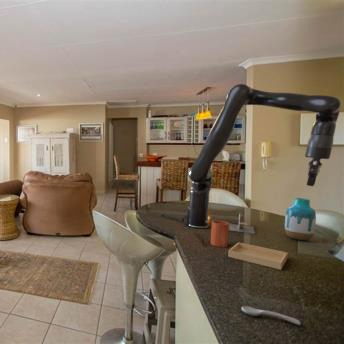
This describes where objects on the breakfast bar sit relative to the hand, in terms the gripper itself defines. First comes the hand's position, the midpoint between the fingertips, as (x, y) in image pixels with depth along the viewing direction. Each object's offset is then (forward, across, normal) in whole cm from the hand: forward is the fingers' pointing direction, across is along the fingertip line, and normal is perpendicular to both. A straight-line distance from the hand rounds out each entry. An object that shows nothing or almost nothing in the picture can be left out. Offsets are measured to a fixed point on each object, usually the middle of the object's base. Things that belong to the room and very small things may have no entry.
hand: (310, 185), depth 121 cm
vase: (+27, -15, 0) cm, 31 cm away
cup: (+30, +20, -24) cm, 44 cm away
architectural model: (+29, -17, -23) cm, 41 cm away
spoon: (+31, +73, 0) cm, 79 cm away
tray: (+29, +27, -10) cm, 41 cm away
